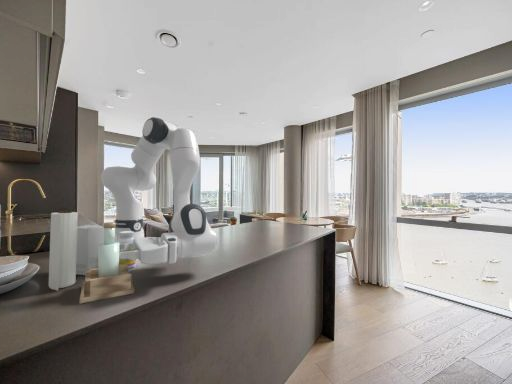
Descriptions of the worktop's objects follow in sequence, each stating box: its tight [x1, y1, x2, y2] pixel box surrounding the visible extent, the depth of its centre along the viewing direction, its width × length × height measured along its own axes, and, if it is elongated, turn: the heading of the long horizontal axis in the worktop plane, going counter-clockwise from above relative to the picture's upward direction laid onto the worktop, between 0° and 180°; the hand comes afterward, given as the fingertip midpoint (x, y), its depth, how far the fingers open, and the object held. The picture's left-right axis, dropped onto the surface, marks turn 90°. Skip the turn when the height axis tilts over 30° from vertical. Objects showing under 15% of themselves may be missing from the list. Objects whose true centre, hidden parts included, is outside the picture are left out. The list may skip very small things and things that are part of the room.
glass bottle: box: [98, 221, 119, 278], centre depth 65 cm, size 5×5×18 cm
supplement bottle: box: [116, 231, 137, 270], centre depth 85 cm, size 7×7×13 cm
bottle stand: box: [79, 264, 135, 304], centre depth 65 cm, size 12×12×5 cm
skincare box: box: [76, 224, 104, 276], centre depth 78 cm, size 8×7×16 cm
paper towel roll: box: [48, 211, 79, 291], centre depth 67 cm, size 7×6×21 cm
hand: (118, 251), depth 66 cm, fingers open, 8 cm apart
